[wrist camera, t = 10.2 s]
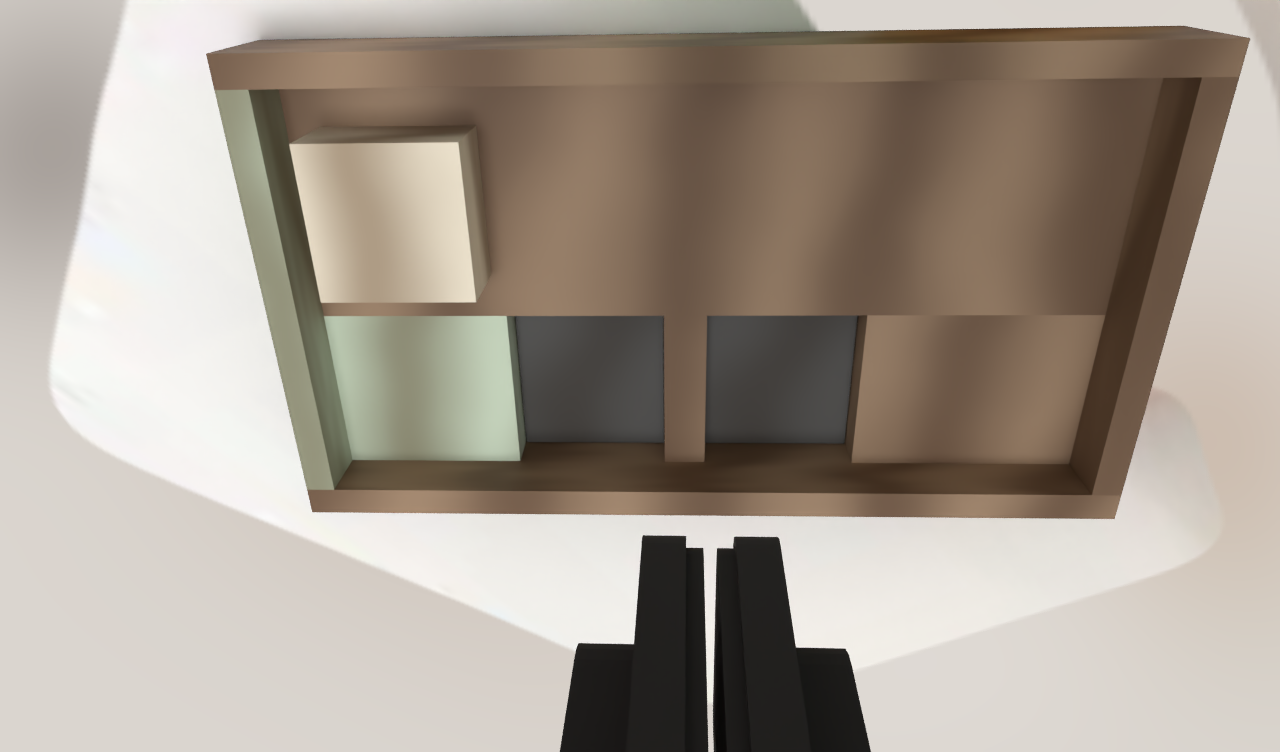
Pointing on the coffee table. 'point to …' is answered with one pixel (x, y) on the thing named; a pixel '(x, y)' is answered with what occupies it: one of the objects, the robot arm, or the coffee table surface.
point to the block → (394, 213)
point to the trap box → (749, 267)
